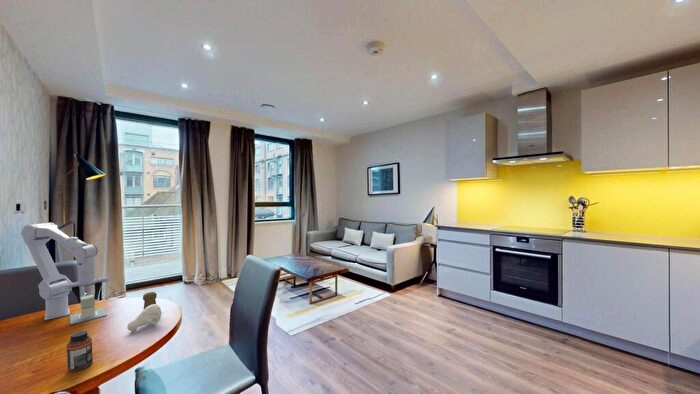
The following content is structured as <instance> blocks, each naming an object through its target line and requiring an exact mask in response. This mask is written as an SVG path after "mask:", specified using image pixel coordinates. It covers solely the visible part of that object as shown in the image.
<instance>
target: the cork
mask: <svg viewBox="0 0 700 394" xmlns="http://www.w3.org/2000/svg"><path fill="white" fill-rule="evenodd" d="M156 299H157V292H155V291H148V292H145V293H144V294H143V296H142V300H143V302H144V304H143V310H144V309H145V308H146V307H148V306H150V305H153V304H157V300H156ZM143 310H142V311H143Z"/></svg>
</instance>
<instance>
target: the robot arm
mask: <svg viewBox="0 0 700 394" xmlns="http://www.w3.org/2000/svg"><path fill="white" fill-rule="evenodd" d="M20 235H21V237H22V239H23V240H24V242H25V245H26V246H27V249H28V251H29V253H30V255H31V257H32V259H33V261H34V263H35V265H36V267H37V269H38V271H39V273H40V275H41V277H42V281H40V283H39V284H38V285H37V287H38V290H39V291H38V292H39V293H38V294H39V296H40V297H41V298H42V299H43V300H44V301H45V315H44V319H43V320H44V321H48V320H51V319H52V320H53V319H56V318H60V317H65V316H70V315H71V313H70V307H69V296H68V295H69V294H70V292H71V291H72V293H73V294H74V295H75V297H76V299H77V303H78V304H81V292H80V290H81V289H80V287H85V286H90V285H94V294H93V295H94V298H95V301H96V300H97V299H98V295H99V292H100V289H101V288H102V285H103V283H108V282H109V277H108V276H105V277H98V278H96V261H95V260H96V259H95V258H96V256H97V255H98V253H99V249H98V246H96V244H93V243H92V244H89V243H86V242H84V241H82V240H81V239H79V237H78V236H71V237H70V236H69V235H67V234H66V233H64V232H63V231H61V229H59V226H58V225H57V224H55V223H53V222H44V223H34V224H26V225H24V226H23V228H22V229H21V232H20ZM50 240H54V241H57V242H59V243H61V247H62V248H64V249H66V250H67V251H69V252H70V253H72V254H73V257H74V258H75V262H76V263H77V276H78V277H77V279H78V281H75V282H72V281H71V280H70V279H69V278H68V276H67V275H64V274H61V273H59V270H58V268H57V266H56V264H55V262H54V260H53V258H52V256H51V254H50V252H49V249H48V248H47V245H46V244H47V243H48V242H49V241H50Z"/></svg>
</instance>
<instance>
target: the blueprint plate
mask: <svg viewBox="0 0 700 394" xmlns="http://www.w3.org/2000/svg"><path fill="white" fill-rule="evenodd" d="M103 317H107V312H106V309H105V307H99V308H97V309H96V308H95V315H94V316H89V317H85V318H82V317H81V312H79V313H76V314H75V313H74V314H69V325H70V326H71V325H75V324H79V323H83V322H88V321H91V320H96V319H99V318H103Z"/></svg>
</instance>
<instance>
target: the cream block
mask: <svg viewBox="0 0 700 394" xmlns="http://www.w3.org/2000/svg"><path fill="white" fill-rule="evenodd" d="M95 307H96V305H95V306H91V307H86V308H82V309H81V308H80V310H81V311H80V313H81V317H82V318H85V317H89V316H94V315H95V310H96V308H95Z"/></svg>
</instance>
